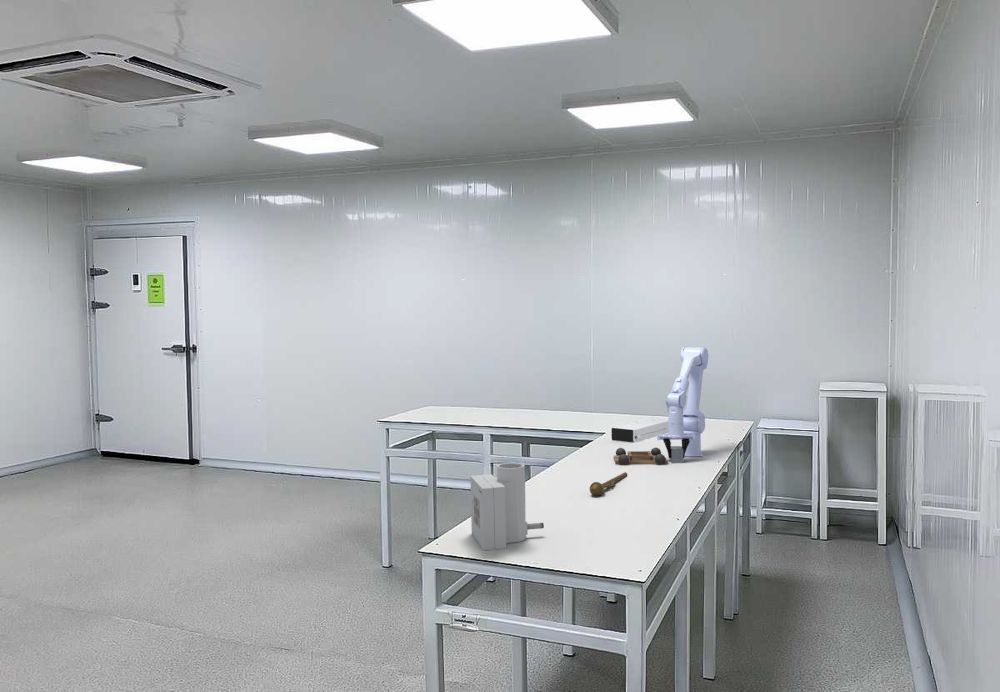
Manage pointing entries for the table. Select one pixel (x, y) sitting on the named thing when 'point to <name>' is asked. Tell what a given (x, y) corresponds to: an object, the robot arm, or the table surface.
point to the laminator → (640, 430)
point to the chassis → (640, 457)
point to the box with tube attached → (500, 507)
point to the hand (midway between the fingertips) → (676, 457)
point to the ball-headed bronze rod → (604, 485)
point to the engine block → (676, 454)
